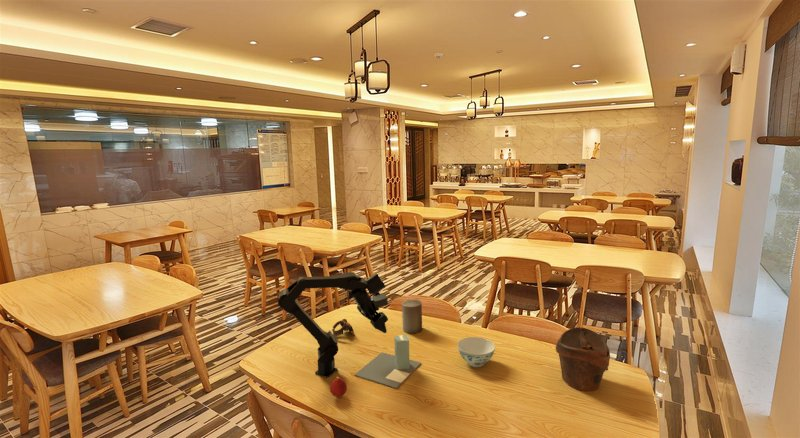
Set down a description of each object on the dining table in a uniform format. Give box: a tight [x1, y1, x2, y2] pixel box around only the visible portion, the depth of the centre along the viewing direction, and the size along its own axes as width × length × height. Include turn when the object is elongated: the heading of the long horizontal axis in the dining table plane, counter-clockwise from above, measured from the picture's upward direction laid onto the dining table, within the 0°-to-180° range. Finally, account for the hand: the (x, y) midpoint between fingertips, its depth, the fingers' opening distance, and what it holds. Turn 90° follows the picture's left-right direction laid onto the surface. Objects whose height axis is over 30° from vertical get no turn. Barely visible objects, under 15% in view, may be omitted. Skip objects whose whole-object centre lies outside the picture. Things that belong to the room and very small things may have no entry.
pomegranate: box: [329, 376, 348, 399], centre depth 140 cm, size 6×6×8 cm
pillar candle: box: [401, 298, 423, 334], centre depth 194 cm, size 10×10×15 cm
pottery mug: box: [331, 318, 355, 337], centre depth 191 cm, size 12×10×8 cm
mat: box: [354, 351, 422, 390], centre depth 159 cm, size 20×19×1 cm
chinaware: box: [457, 336, 496, 368], centre depth 162 cm, size 15×15×8 cm
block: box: [393, 334, 410, 370], centre depth 159 cm, size 5×5×12 cm
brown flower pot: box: [555, 327, 611, 392], centre depth 146 cm, size 18×20×18 cm
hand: (380, 327), depth 164 cm, fingers open, 9 cm apart
